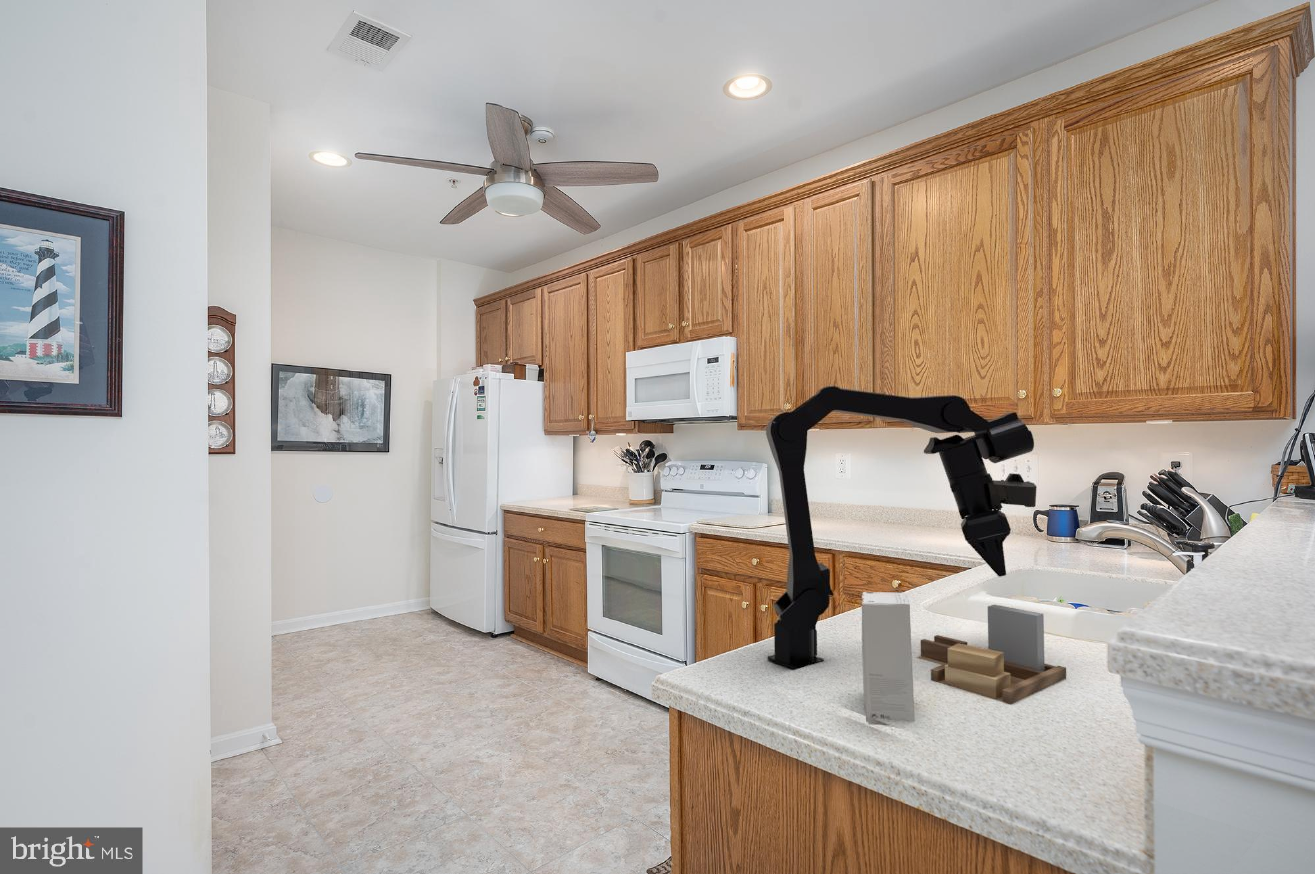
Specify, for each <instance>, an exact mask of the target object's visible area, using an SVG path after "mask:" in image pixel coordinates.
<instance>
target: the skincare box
mask: <svg viewBox="0 0 1315 874" xmlns="http://www.w3.org/2000/svg"><path fill="white" fill-rule="evenodd" d="M861 594H862V596H861V598H862V600H861V651H862V653H861V657H862V658H861V660H862V686H863V701H864V702H863V703H864V709H865V722H866V723H868V724H877V725H878V724H880V725H886V726H887V725H888V726H890V724H888V723H885V722H884V721H883V722H882V721H881V720H878V719H875V718H880V719H886V720H894V721H896V720H897V721H906V722H915V721H916V720H915V719H916V718H915V717H916V716H915V699H914V698H915V697H914V677H913V676H914V673H913V656H912V654H913V651H912V629H911V625H912V624H911V605H910V604H911V603H910V600H909V598H908V595H907V593H905V592H883V591H882V592H881V591H879V592H876V591H874V592H873V591H864V592H862V593H861Z"/></svg>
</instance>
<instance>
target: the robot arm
mask: <svg viewBox="0 0 1315 874" xmlns="http://www.w3.org/2000/svg"><path fill="white" fill-rule="evenodd" d="M832 412H834V413H840V414H841V413H842V414H848V415H854V416H864V417H870V418H878V419H886V420H893V421H900V422H903V423H905V424H909V425H911V426H914V427H915V428H919V429H921V430H925V431H928V432H931V433H934V434H947V433H948V434H949V433H957V434H954V435H949V436H948V437H945V438H941V439H940V438H938V437H936V436H934V437H933V436H932V437H930V438H929V441H928V443H927V445H926V446H925V448H924V449H923V454H926V455H934V454H939V457H940V459H941V463H942V466H943V469H944V471H945V475H946V477H947V480H948V484H949V487H950V491H951V493H952V494H953V498H954V500H955V503H956V507H957V509H958V513H959V516H960V518H961V520H962V521H961V522H960V527H961V532H962V534H963V536H964V537H963V538H964V539H965V540H964V541H966V542H967V544H968V545H969V546H970V547H972V549H973V550H974V551H975V552H976V553H977V554H978V555H979V557H981V558H982V560H983V561H984V562H985V563H986V564H987V565H988V567H990V569H991V570H992V571H993V572H994V573H995V574H996V576H998V577H1005V576H1006V575H1007V569H1006V561H1005V552H1004V542H1005V540H1006V539H1007V537H1008V536H1010V534H1011V531H1012V528H1011V526H1010V523H1009V521H1008V518H1007V516H1006V513H1004V512H1002V511H1001V510H1002V509H1003V505H1009V506H1010V505H1013V506H1024V507H1025V508H1035V507H1036V502H1037V487H1038V486H1037V485H1036V484H1035V482H1031V481H1030V480H1027V481H1024V479H1023V477H1022V474H1020V473H1009V474H1007V477H1006V478H1005V480H1004V479H1000V480H993V477H992V475H991V473H988V470H987V467H986V465H985V461H984V460H988V461H989V462H990V463H992V464H998V463H1000V462H1004V461H1007V460H1010V459H1013V458H1017V457H1020V456H1023V455H1025V454H1029V453H1031V452H1033V451H1034V447H1035V439H1034V436H1033V434H1032V430H1030V429H1029V428H1028V426H1027V425H1026V424H1025V423H1024V421H1023V420H1021V419H1020V418H1019V416H1018V414H1017V412H1016V411H1012V412H1007V413H1005V414H1002V415H1001V416H999V417H996V418H994V419H990V420H987V419H986V418H984V417H983V416H981V415H980V414H978V413H976V412H975V411H974V410H972V409H971V406H970V404H969V403H968V402H967V400H966V399H965V398H964V397H961V396H958V395H954V394H952V395H949V394H948V395H930V396H929V395H927V396H913V397H909V396H901V395H893V394H887V393H882V392H881V393H880V392H872V391H871V392H870V391H864V390H857V389H850V388H849V389H848V388H843V387H838V386H836V385H833V384H832V385H826V386H824V387H822V388H820V389H819V390H817V391H816V392H815V394H813V396H811V397H810V398H808V399H807V400H806V401H805V402H803V403H802V404H800V405H798V406H797V407H796V408H794V410H792V411H786V412H782V413H779V414H777V415H775V416H773V417H772V418H771V419H770V420H769V421H768V423H767V425H766V427H765V435H766V439H767V442H768V446H769V448H770V452H771V455H772V457H773V459H774V460H773V461H774V463H775V464H776V468H777V471H778V477H779V483H780V490H781V499H782V506H783V513H784V522H785V529H786V537H787V545H788V552H789V559H788V566H787V573H786V575H787V576H786V590H785V592H784V593H783V594H782V595H781V596H780V597H779V598H778V599H776V601H774V603H773V608H774V611H775V614H776V616H777V617H778V620H777V621H776V622H774V625H773V630H774V631H773V632H774V635H773V636H774V637H773V638H774V640H773V641H774V654H771V655H768V656H767V661H770V662H772V663H776V664H779V665H782V666H784V667H787V668H790V669H792V670H794V671H795V670H799V669H802V668H806V667H809V666H813V665H816V664H819V663H824V662H825V658H822V657H819V656H818V630H817V629H816V628H817V627H816V626H817V623H818V620H819V618H820V616H821V615H823V614H824V613H826V610H828V609H829V607H830V601H831V600H830V599H831V598H830V597H831V596H832V597H833V596H834V594H835V593H834V592H833V590H832V587H831V582H830V581H831V570H830V568H829V567H827V566H826V565H825V564H824V563H823V562H819V561H818V559H817V555H816V551H815V545H814V543H815V542H814V537H813V528H812V522H811V513H810V507H809V505H810V504H809V498H808V491H807V483H806V476H805V463H806V455H807V449H808V448H807V446H808V431H810V430H811V429H812V428H813V427H815V426H816V425H817V424H819V423H820V422H821V421H823V420H824V418H826V417H827V416H828V415H830V413H832ZM965 433H974V434H973V435H970V436H967V437H964V438H963V437H962V436H961V435H960V434H965ZM983 459H984V460H983Z"/></svg>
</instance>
